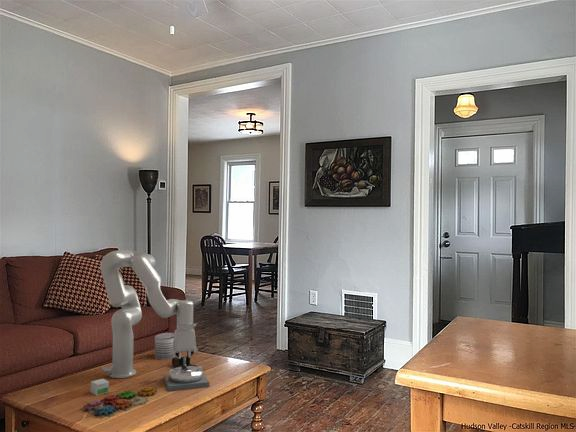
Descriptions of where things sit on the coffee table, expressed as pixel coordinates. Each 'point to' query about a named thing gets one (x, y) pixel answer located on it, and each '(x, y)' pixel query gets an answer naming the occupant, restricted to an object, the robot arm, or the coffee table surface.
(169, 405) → the coffee table surface
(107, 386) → the small box
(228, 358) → the coffee table surface
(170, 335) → the can
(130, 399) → the gear puzzle
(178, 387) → the gray plinth
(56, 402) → the coffee table surface
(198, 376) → the silver disc
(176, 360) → the hand tool
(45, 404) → the coffee table surface
